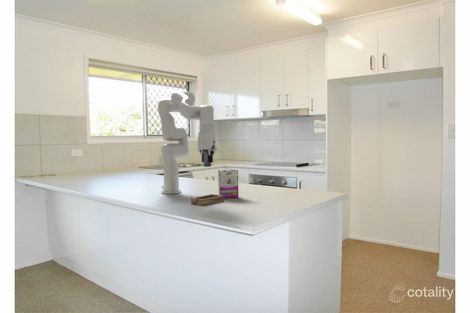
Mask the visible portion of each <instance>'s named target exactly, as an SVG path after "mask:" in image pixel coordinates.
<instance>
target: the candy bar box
mask: <svg viewBox="0 0 470 313" xmlns="http://www.w3.org/2000/svg"><path fill="white" fill-rule="evenodd" d="M217 179H218V180H217V181H218V184H217V185H218V195H223V196H224V199H232V198H233V199H235V198H239V170H238V169H237V168H236V169H235V168H232V169H218V170H217Z"/></svg>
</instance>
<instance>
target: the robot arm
mask: <svg viewBox="0 0 470 313" xmlns="http://www.w3.org/2000/svg"><path fill="white" fill-rule="evenodd" d="M195 100H196V97H195V94H194V93H193V92H191V91H183V90H176V91H173V92H172V93H171V95H170V98H162V99H159V101H158V104H157V112H158V116H159V118H160V123H161V135H162V139H163V140H164V141H165V142H171V143H165V144H163V145H162V146H161V149H160V150H161V156H162V164H163V166H162V168H163V170H162V172H163V185H162V186H161V187H160V188H161V189H162V190H161V194H163V195H173V194H174V195H175V194H180V193H182V190H181V189H180V182H179V181H180V180H179V178H180V177H179V175H180V174H179V173H180V172H179V163H178V162H177V160H176V159H183V158H184V159H185V158H186V157H188V155H189V142H188V140H189V139H188V134H187V133H188V132H187V130H186V129H185V128H184V127H183V126H176V124H175V122H176V121H175V118H174V116H173V115H172V114H171V113H179V114H180V115H181V116H182V117H183V118H185V119H186V120H190V121H191V120H192V121H193V120H195V121H196V120H197V121H199V127H198V128H199V131H198V136H197V151H199V153H200V155H201V163H204V155H203V150H208V153H209V155H208V163H211V164H212V163H214V155H215V153H216V152H217V151H218V148H217V140H216V132H215V125H214V124H215V121H214V118H215V117H214V112H215V111H214V106H213V105H207V104H205V105H204V104H203V105H200V106H199V105H194V104H195ZM172 142H173V143H172ZM174 142H175V143H174Z"/></svg>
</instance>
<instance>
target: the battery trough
mask: <svg viewBox="0 0 470 313" xmlns="http://www.w3.org/2000/svg"><path fill="white" fill-rule="evenodd" d="M190 201H191V202H190V203H191V204H192V205H197V206H203V207H204V206H208V205H213V204H218V203H221V202H224V201H225V198H224V196H223V195H219V194H214V193H211V194H210V193H209V194H206V195H201V196H196V197H191V198H190Z"/></svg>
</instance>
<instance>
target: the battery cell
mask: <svg viewBox="0 0 470 313" xmlns="http://www.w3.org/2000/svg"><path fill="white" fill-rule="evenodd" d="M203 155H204V162H203V167H205V168H208V167H212V163H208V155H209V153H208V150H203Z"/></svg>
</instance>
